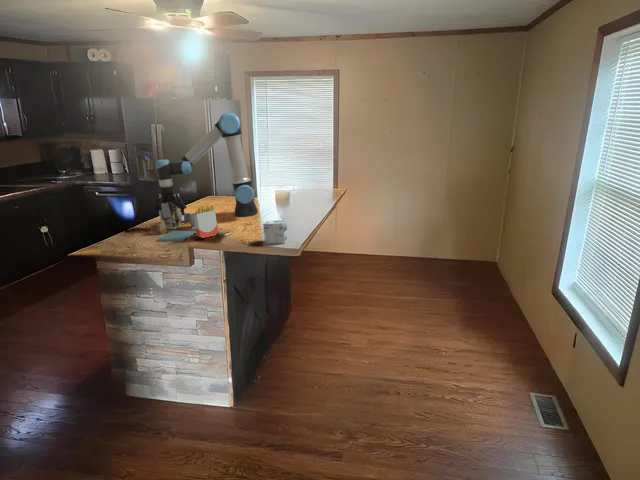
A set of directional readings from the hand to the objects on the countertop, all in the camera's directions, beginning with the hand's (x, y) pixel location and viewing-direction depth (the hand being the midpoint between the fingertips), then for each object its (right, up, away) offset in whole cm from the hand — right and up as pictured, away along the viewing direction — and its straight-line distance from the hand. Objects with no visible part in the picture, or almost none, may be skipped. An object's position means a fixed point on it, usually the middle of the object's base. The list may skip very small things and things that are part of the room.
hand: (172, 220), depth 266 cm
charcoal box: (+3, -1, +13) cm, 13 cm away
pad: (+10, -10, -20) cm, 25 cm away
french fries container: (+28, -11, -26) cm, 40 cm away
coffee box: (0, -4, +1) cm, 4 cm away
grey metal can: (+15, -4, -2) cm, 16 cm away
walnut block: (-4, -8, -10) cm, 14 cm away
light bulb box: (+68, -13, -42) cm, 81 cm away
